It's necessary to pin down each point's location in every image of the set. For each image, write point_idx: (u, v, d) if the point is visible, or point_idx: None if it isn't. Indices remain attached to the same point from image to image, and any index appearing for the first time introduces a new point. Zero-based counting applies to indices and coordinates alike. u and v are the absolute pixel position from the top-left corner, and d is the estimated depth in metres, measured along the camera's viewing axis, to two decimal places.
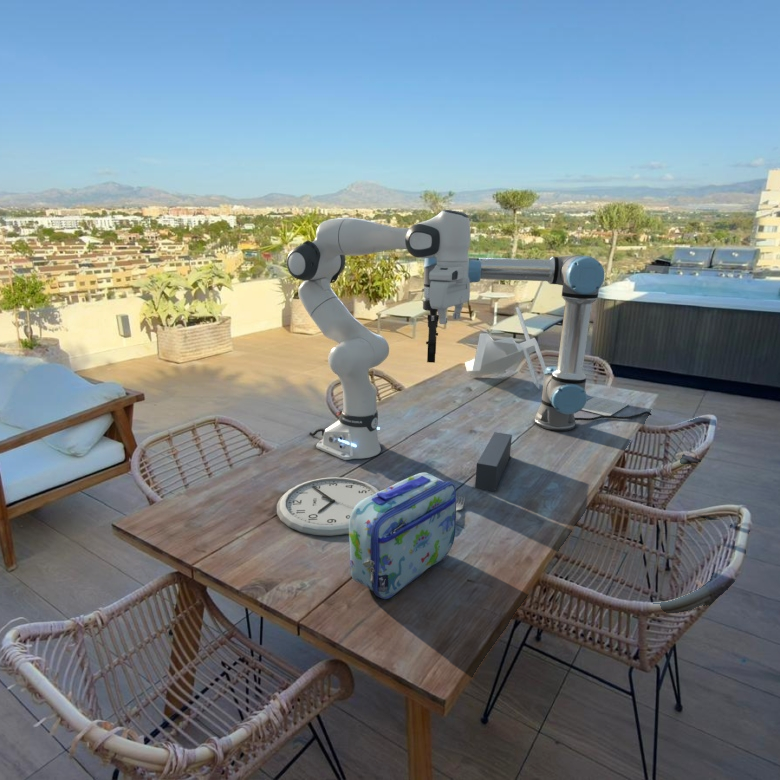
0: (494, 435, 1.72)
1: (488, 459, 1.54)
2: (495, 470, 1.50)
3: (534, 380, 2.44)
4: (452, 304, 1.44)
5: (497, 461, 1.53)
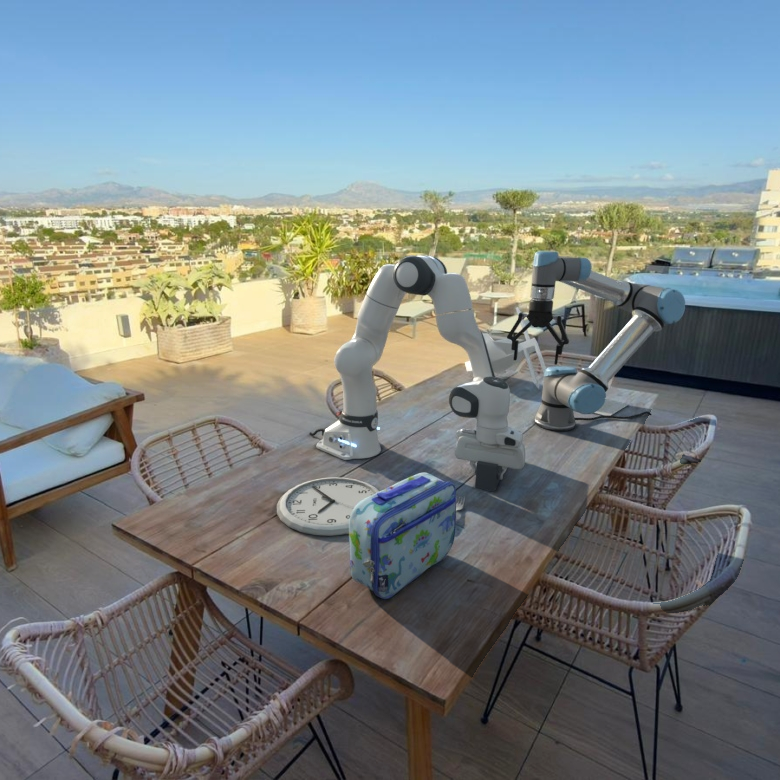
0: None
1: None
2: (495, 470, 1.50)
3: (534, 380, 2.44)
4: None
5: None
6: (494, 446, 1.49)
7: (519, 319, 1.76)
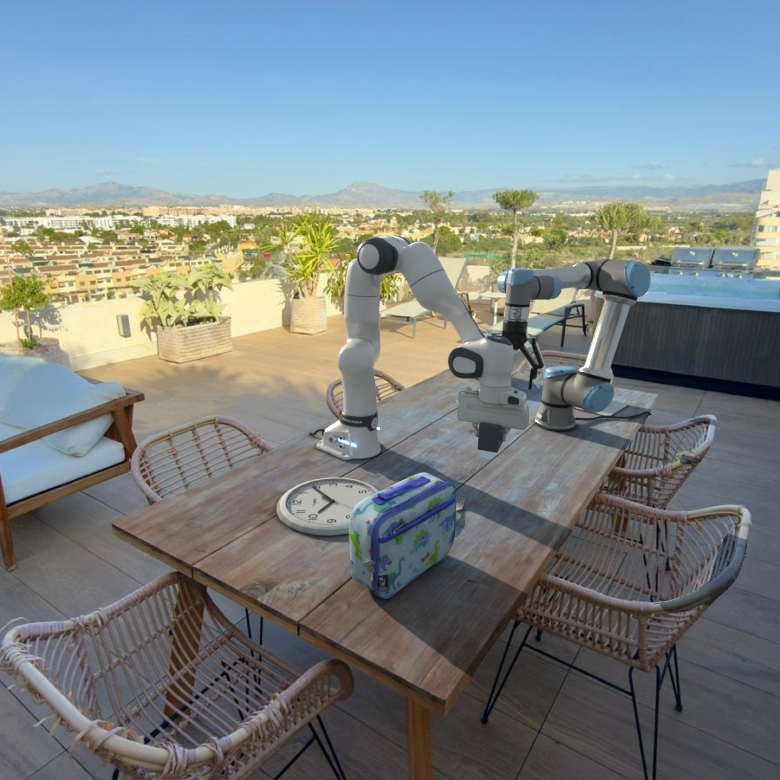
0: None
1: None
2: (498, 431, 1.46)
3: (534, 380, 2.44)
4: None
5: None
6: (497, 406, 1.45)
7: None
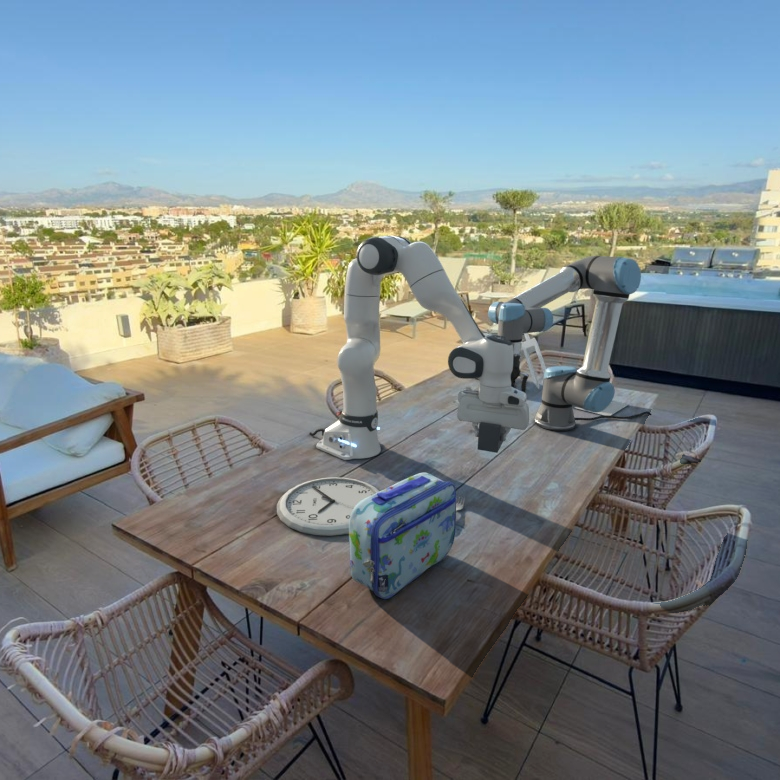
0: None
1: None
2: (498, 431, 1.46)
3: (534, 380, 2.44)
4: None
5: None
6: (497, 406, 1.45)
7: None
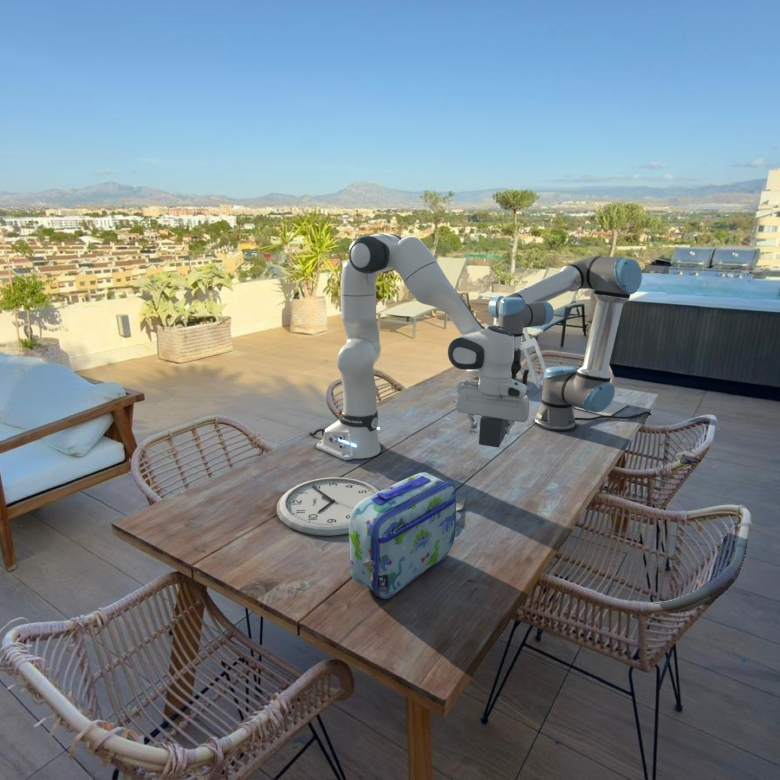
0: None
1: None
2: (499, 425, 1.46)
3: (534, 380, 2.44)
4: None
5: None
6: (497, 397, 1.44)
7: None
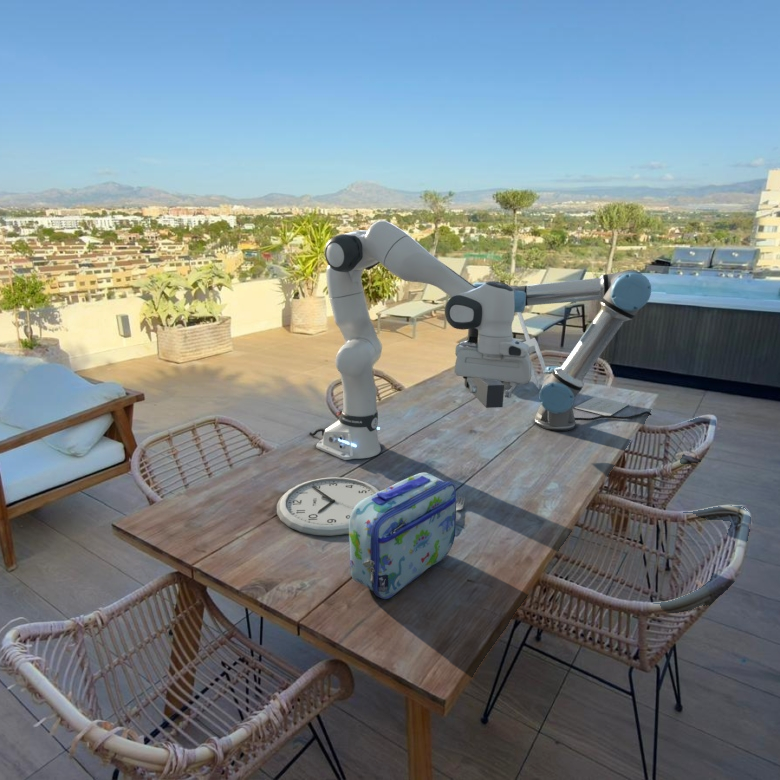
0: None
1: (491, 382, 1.78)
2: (503, 388, 1.75)
3: (534, 380, 2.44)
4: None
5: (499, 382, 1.78)
6: (497, 358, 1.36)
7: None
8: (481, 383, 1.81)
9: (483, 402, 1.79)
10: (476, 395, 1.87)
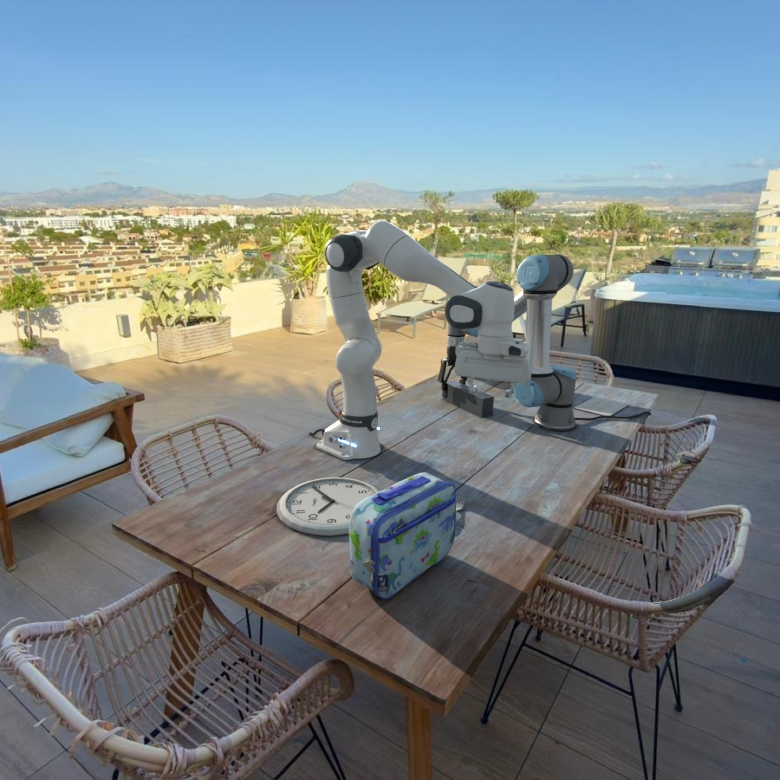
0: (449, 383, 2.28)
1: (482, 395, 2.13)
2: (493, 399, 2.12)
3: None
4: None
5: (487, 394, 2.14)
6: (497, 358, 1.36)
7: (445, 365, 2.22)
8: (471, 397, 2.15)
9: (476, 413, 2.13)
10: (464, 407, 2.20)
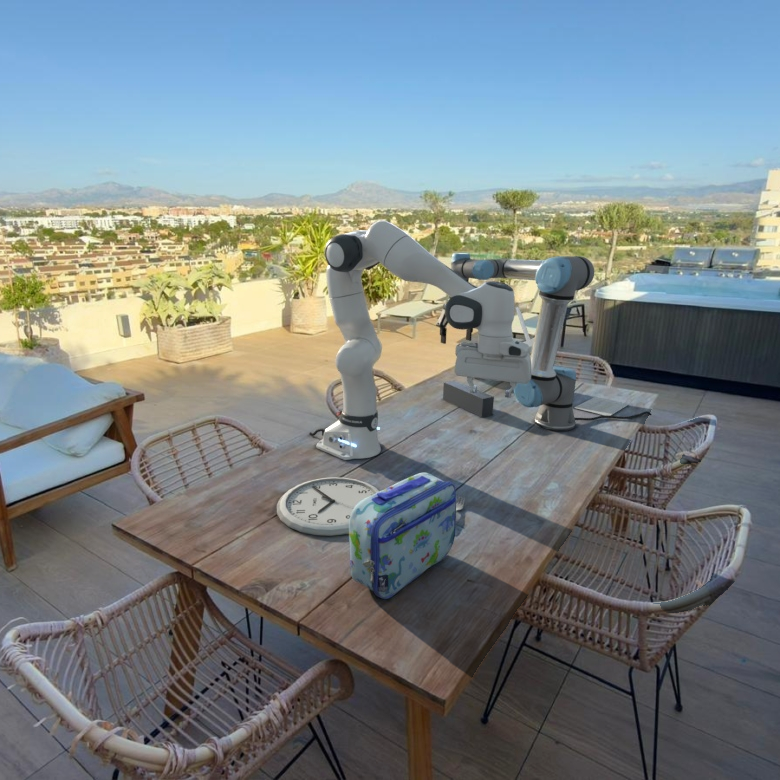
0: (449, 383, 2.28)
1: (482, 395, 2.13)
2: (493, 399, 2.12)
3: None
4: None
5: (487, 394, 2.14)
6: (497, 358, 1.36)
7: None
8: (471, 397, 2.15)
9: (476, 413, 2.13)
10: (464, 407, 2.20)
